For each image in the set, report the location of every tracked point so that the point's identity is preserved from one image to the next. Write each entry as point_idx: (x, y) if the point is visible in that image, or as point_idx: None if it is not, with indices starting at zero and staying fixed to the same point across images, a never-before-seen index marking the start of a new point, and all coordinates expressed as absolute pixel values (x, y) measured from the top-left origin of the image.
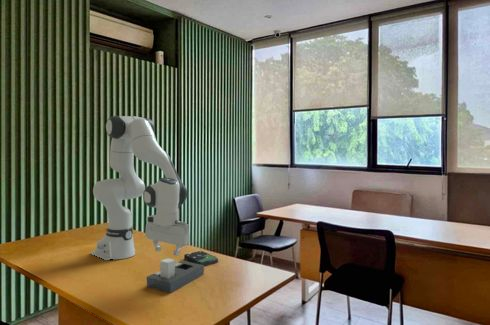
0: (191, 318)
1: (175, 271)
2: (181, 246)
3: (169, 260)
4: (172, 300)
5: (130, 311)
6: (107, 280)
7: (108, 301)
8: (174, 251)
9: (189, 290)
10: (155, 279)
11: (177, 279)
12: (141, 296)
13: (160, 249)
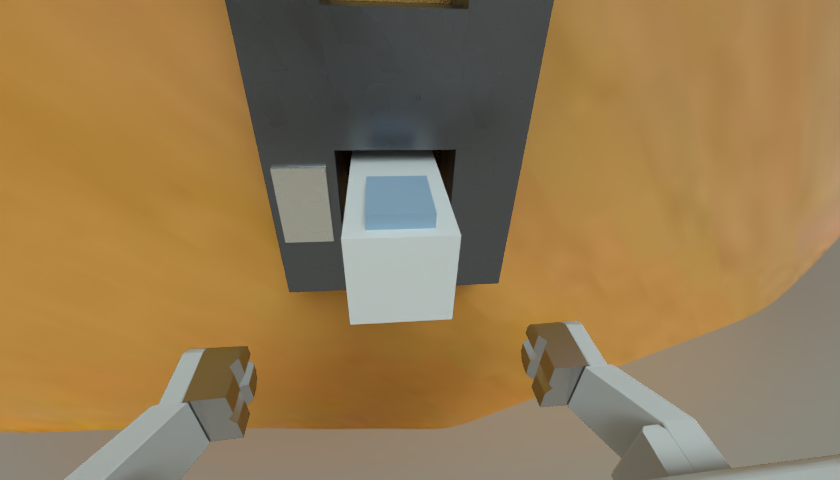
0: (666, 340)
1: (399, 108)
2: (693, 427)
3: (418, 274)
4: (534, 287)
5: (433, 398)
6: (15, 300)
7: (295, 399)
8: (554, 401)
9: (569, 165)
10: None
11: (509, 222)
12: (374, 325)
13: (243, 360)
